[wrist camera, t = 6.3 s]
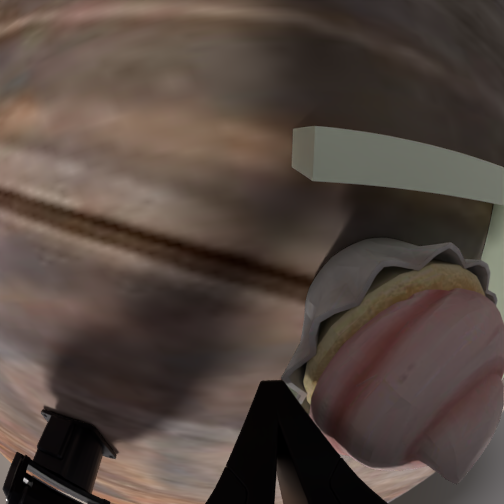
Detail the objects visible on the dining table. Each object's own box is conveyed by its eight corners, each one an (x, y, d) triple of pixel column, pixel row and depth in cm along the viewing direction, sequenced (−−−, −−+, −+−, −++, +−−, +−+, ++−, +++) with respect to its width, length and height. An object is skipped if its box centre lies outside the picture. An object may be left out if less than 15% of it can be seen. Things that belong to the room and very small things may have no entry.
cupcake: (234, 329, 13) (228, 541, 4) (350, 160, 10) (595, 277, 1) (364, 380, 15) (413, 516, 6) (464, 264, 12) (579, 376, 3)
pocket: (445, 372, 16) (473, 418, 12) (272, 399, 16) (279, 468, 11) (511, 173, 10) (572, 197, 6) (292, 128, 10) (331, 123, 5)
